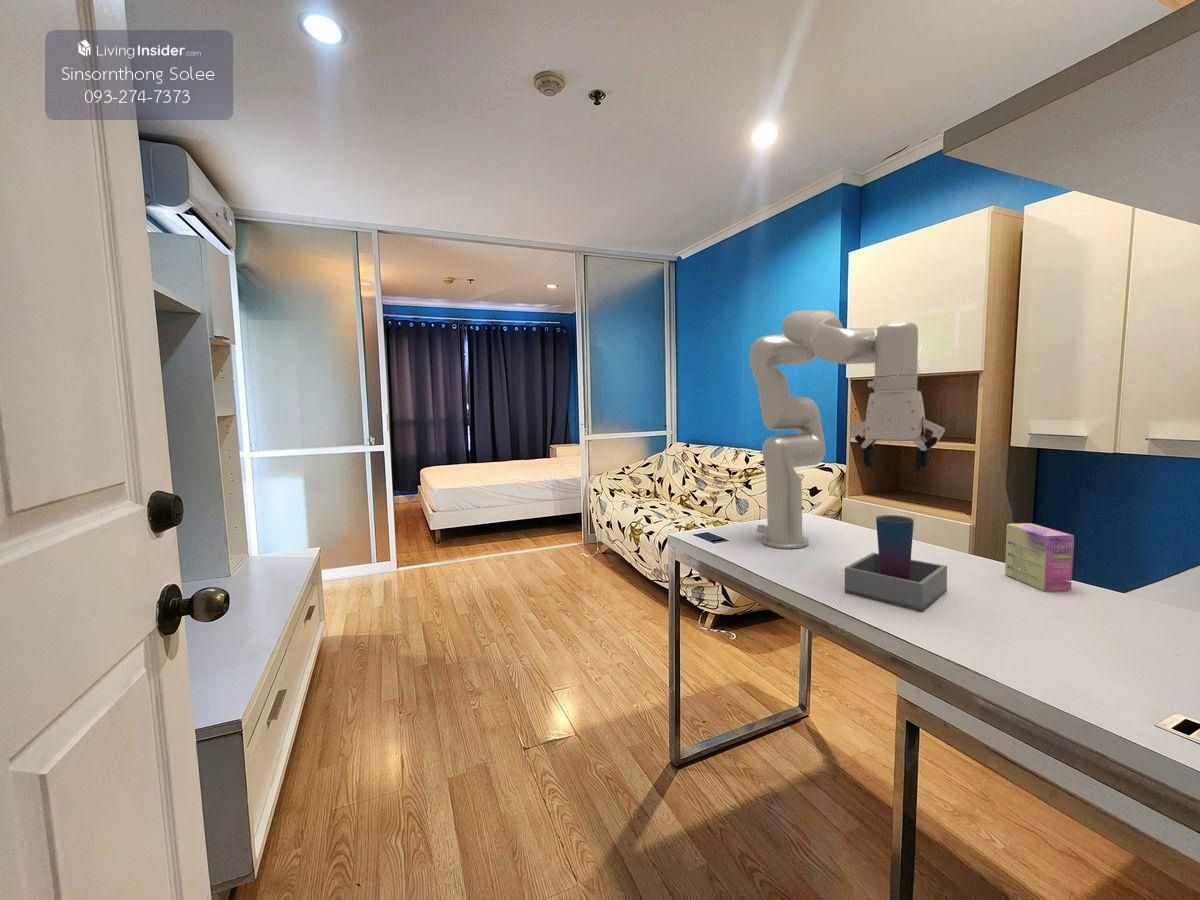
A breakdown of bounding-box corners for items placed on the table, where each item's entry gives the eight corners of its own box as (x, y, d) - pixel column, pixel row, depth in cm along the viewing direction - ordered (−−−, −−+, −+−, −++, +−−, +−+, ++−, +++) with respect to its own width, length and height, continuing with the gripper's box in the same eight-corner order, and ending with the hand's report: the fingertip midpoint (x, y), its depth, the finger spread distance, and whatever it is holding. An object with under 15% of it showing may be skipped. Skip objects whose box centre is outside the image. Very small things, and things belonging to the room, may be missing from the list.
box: (1072, 591, 102) (1074, 534, 101) (1044, 592, 102) (1046, 535, 101) (1030, 574, 112) (1031, 522, 111) (1004, 575, 112) (1005, 523, 111)
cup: (921, 593, 103) (921, 521, 101) (888, 595, 102) (888, 523, 101) (900, 581, 109) (900, 514, 108) (869, 583, 109) (869, 516, 108)
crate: (844, 592, 107) (844, 567, 106) (872, 575, 116) (872, 552, 116) (922, 612, 96) (922, 584, 95) (946, 591, 105) (947, 565, 104)
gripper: (844, 387, 106) (844, 467, 108) (938, 383, 93) (936, 473, 95) (859, 387, 111) (859, 463, 113) (951, 382, 98) (949, 468, 100)
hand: (894, 468), depth 104 cm, fingers open, 9 cm apart
